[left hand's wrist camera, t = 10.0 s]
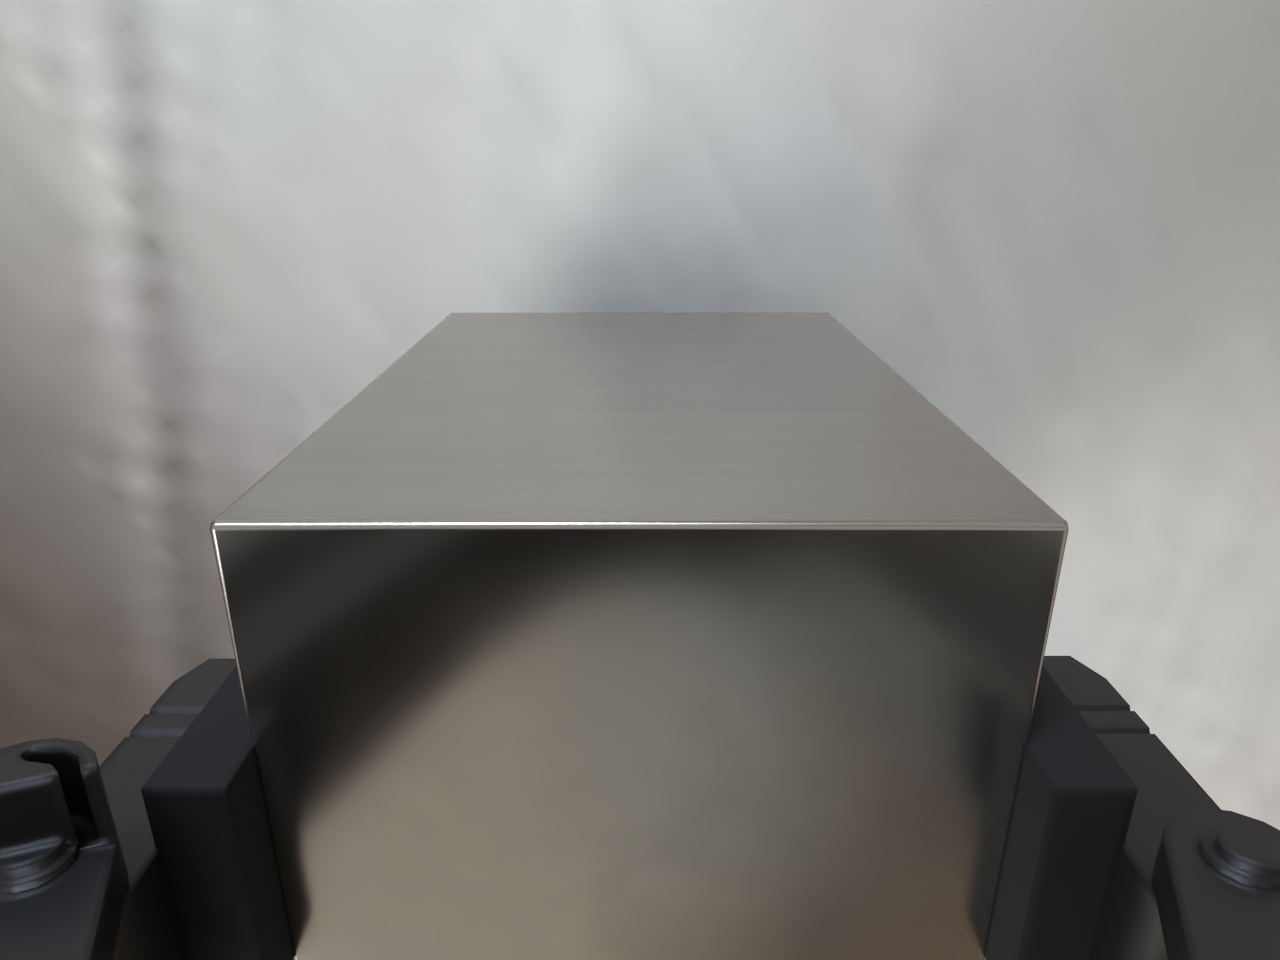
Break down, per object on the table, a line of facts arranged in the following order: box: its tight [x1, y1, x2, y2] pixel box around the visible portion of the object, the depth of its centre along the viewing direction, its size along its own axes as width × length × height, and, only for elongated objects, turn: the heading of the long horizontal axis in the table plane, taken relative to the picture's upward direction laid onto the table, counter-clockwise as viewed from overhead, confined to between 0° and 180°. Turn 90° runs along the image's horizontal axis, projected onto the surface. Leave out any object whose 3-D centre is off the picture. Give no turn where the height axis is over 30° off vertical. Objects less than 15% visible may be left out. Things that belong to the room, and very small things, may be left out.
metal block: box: [210, 313, 1068, 960], centre depth 13 cm, size 7×7×10 cm
